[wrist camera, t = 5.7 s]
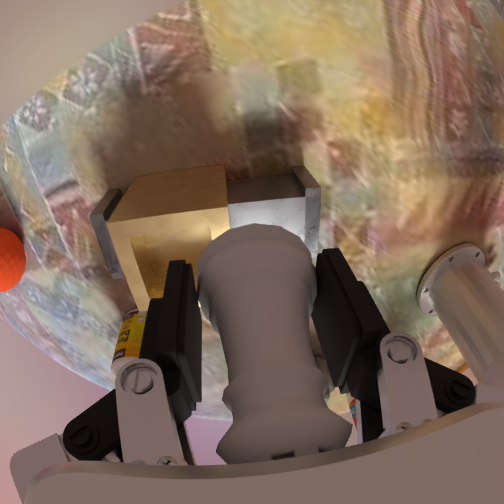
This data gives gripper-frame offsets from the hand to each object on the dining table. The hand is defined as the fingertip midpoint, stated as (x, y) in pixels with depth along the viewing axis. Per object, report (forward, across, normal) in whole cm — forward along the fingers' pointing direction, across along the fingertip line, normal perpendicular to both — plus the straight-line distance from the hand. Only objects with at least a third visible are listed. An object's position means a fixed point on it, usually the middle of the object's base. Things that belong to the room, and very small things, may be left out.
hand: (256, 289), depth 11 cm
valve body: (+17, +3, +5) cm, 18 cm away
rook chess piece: (+1, 0, 0) cm, 1 cm away
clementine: (+18, +27, +6) cm, 32 cm away
